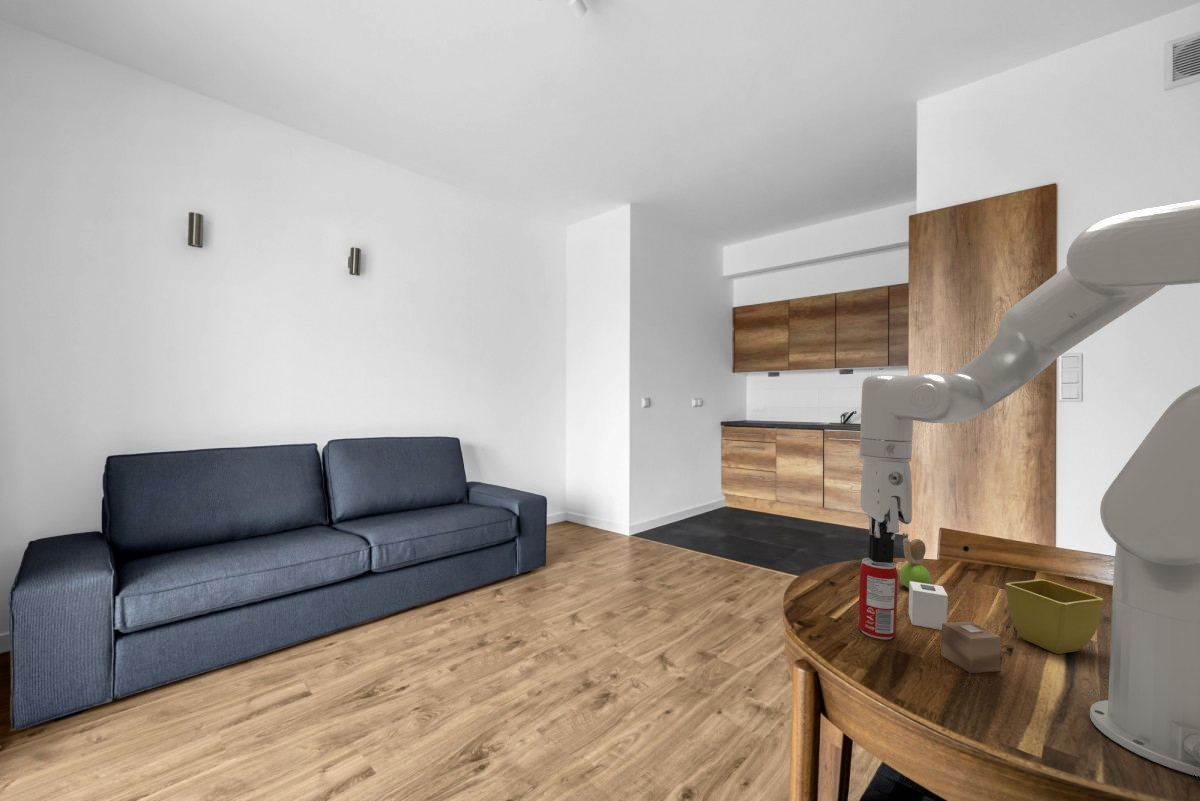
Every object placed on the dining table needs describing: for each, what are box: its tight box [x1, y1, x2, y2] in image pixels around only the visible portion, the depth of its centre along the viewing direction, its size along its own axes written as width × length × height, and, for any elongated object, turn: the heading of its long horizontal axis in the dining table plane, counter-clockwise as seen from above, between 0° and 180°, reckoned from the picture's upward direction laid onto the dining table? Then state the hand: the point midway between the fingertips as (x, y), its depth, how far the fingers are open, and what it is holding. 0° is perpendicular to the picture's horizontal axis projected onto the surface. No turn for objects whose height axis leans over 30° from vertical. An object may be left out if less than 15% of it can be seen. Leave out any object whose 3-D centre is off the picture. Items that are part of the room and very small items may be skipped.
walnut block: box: [940, 621, 1002, 674], centre depth 75 cm, size 5×5×5 cm
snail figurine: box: [898, 532, 932, 589], centre depth 104 cm, size 5×6×12 cm
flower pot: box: [1005, 578, 1104, 655], centre depth 81 cm, size 9×9×9 cm
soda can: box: [857, 557, 899, 640], centre depth 84 cm, size 6×6×12 cm
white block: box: [908, 581, 949, 631], centre depth 89 cm, size 5×5×6 cm
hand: (880, 560), depth 84 cm, fingers closed
